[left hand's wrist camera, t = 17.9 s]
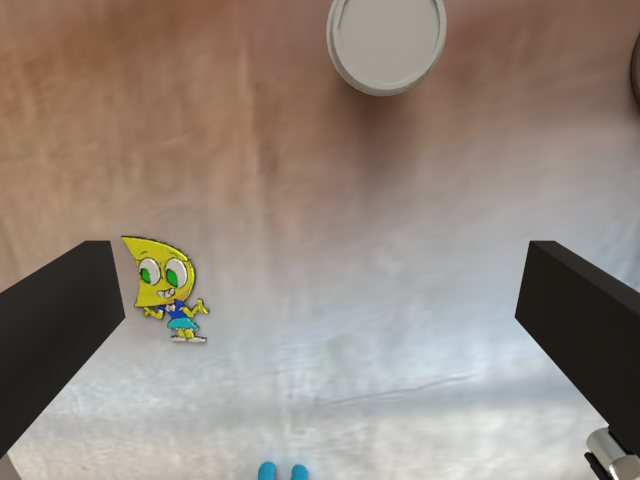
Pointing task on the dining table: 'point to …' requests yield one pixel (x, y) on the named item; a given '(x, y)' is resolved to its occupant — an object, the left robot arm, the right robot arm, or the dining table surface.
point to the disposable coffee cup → (385, 42)
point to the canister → (613, 455)
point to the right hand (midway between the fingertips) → (606, 443)
